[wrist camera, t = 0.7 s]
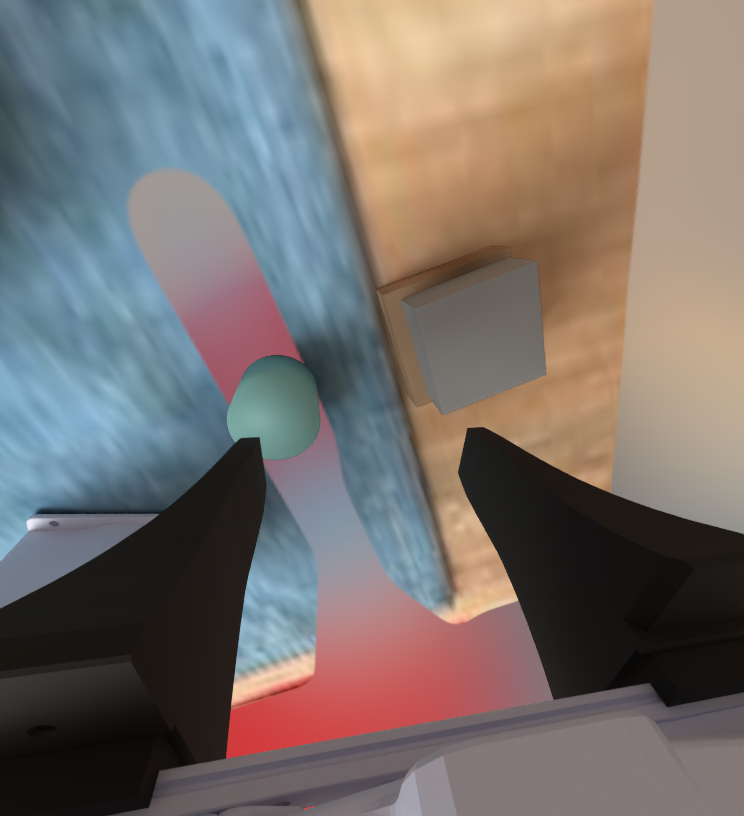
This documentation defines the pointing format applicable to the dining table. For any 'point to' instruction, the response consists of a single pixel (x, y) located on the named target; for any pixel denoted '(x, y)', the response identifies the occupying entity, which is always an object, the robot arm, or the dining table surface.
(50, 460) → the dining table surface
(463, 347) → the top block
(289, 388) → the green rounded cylinder
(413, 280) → the base block
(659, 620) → the robot arm
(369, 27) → the dining table surface
